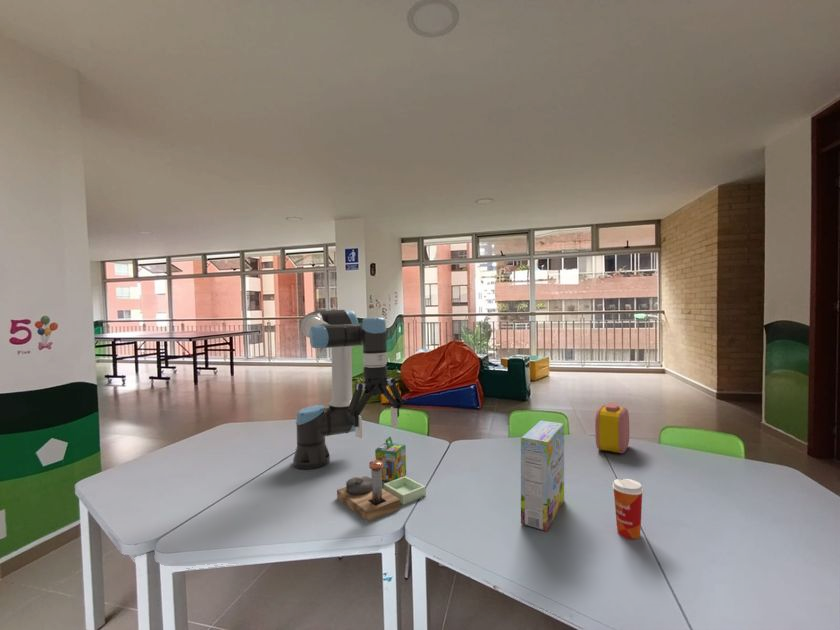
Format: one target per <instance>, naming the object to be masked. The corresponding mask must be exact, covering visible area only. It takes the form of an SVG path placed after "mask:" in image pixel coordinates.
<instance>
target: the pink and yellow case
mask: <svg viewBox="0 0 840 630" xmlns="http://www.w3.org/2000/svg"><path fill="white" fill-rule="evenodd" d="M594 425H595V445H596V449H597V450H599V451H605V452H611V453H612V452H613V453H618V454H620V455H622V454H624V453H625V452H626V450H627V448H628V447H629V443H630V413H629V411H628V409H627V407H625V406H622V407H620V405H619V404H618V403H613V402H611V403H610V402H608V403H607V404H604V405H601V406H600V407H598V409H597V411H596V413H595V424H594Z"/></svg>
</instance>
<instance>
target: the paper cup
mask: <svg viewBox="0 0 840 630" xmlns="http://www.w3.org/2000/svg"><path fill="white" fill-rule="evenodd" d="M612 488H613V495H614V507H615V508H614V509H615V520H616V521H615V522H616V531H617V533H618V535H619V536H621V537H623V538H625V539H629V540H639V539H640V538H641V530H642V528H641V527H642V508H643V507H642V506H643V493H644V492H645V491H644V489H643V487H642V484H641V483H640V482H639V481H636V480H634V479H630V478H619V479H618V478H616V479H615V480H613V483H612Z"/></svg>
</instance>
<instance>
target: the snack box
mask: <svg viewBox="0 0 840 630" xmlns="http://www.w3.org/2000/svg"><path fill="white" fill-rule="evenodd" d="M564 501H565V424H564V423H561V422H554V421H545V420H539V421H538V422H537V423H536V424H535V425H534V426H533V427H532V428H530V429H529V430H528V431H527V432H526V433H524V435H523V436H521V438H520V524H521V525H524V526H528V527H532V528H535V529H538V530H541V531H546V532H548V531H549V529H550V526H551V525H552V523H553V521H554V520H555V517H556V515H557V514H558V512H559V510H560V509H561V507H562V505H563V503H564Z"/></svg>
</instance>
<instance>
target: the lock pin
mask: <svg viewBox="0 0 840 630" xmlns="http://www.w3.org/2000/svg"><path fill="white" fill-rule="evenodd" d="M368 465H369V467H368V468H369V469H370V471H371V472H370V473H371V479H372V504H374V505H375V506H376V505H378V504H381V503H382V489H383V480H382V470H381V468H383V461H380V460H376V459H374V460H371V461H369V463H368Z"/></svg>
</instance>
